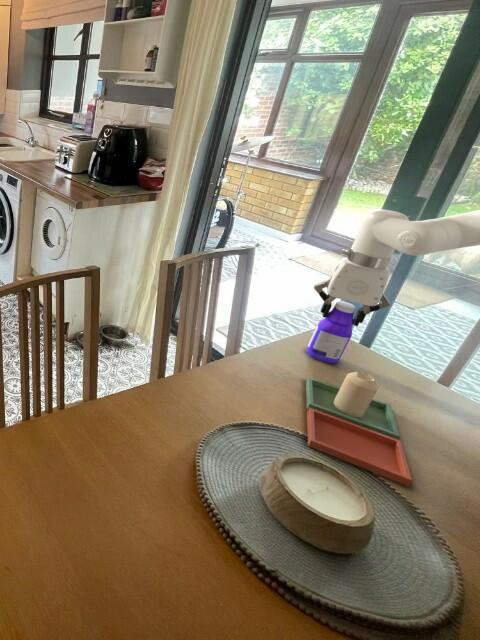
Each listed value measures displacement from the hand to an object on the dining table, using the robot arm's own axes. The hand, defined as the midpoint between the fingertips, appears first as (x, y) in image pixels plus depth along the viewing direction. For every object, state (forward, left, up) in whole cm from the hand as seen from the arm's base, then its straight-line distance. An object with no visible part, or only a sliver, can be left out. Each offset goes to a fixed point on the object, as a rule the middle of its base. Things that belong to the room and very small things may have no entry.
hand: (339, 318), depth 110 cm
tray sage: (-4, +21, -13) cm, 25 cm away
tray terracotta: (-4, +34, -13) cm, 37 cm away
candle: (-4, +21, -13) cm, 25 cm away
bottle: (0, 0, -13) cm, 13 cm away
